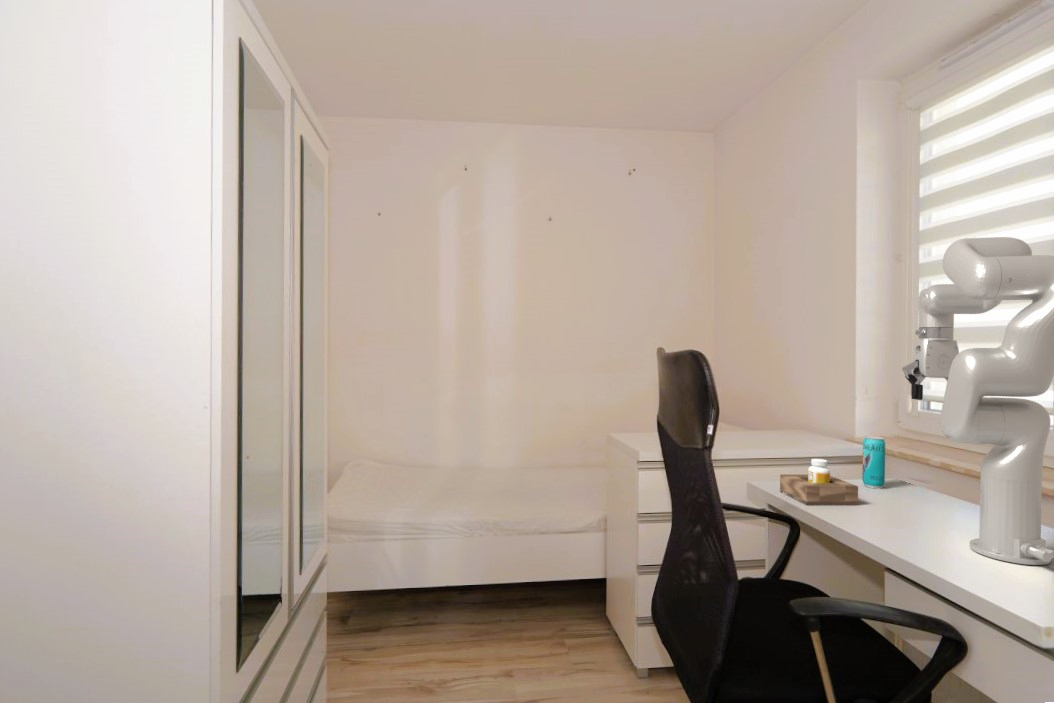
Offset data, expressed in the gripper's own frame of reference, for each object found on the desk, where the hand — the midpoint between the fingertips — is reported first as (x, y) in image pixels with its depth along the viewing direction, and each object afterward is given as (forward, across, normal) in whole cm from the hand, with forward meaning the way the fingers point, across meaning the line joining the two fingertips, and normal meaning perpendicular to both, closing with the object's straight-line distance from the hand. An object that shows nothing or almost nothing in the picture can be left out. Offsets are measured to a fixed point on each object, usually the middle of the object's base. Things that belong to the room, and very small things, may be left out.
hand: (934, 399), depth 151 cm
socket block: (+28, -27, +8) cm, 40 cm away
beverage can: (+28, -2, +21) cm, 35 cm away
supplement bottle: (+28, -26, +8) cm, 39 cm away
